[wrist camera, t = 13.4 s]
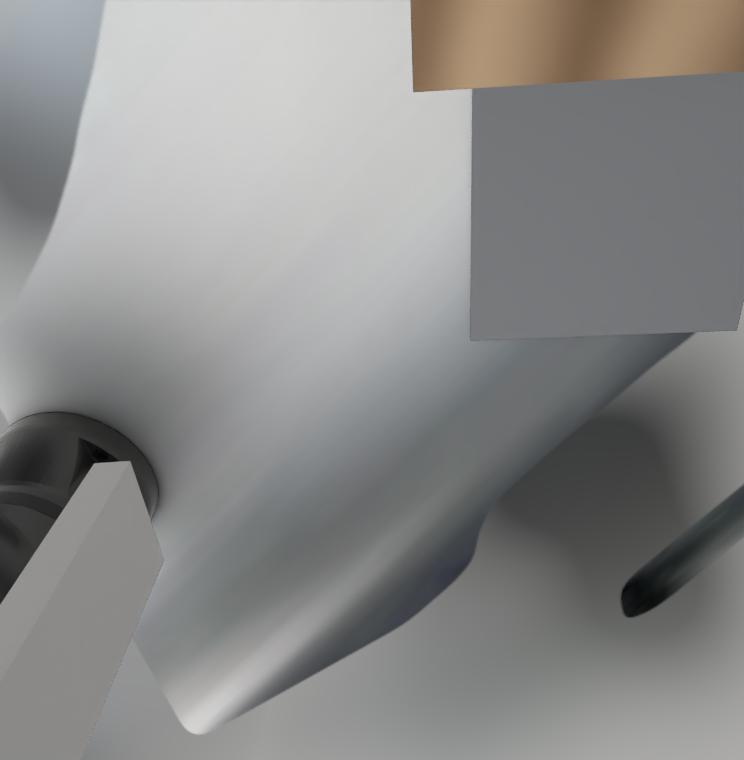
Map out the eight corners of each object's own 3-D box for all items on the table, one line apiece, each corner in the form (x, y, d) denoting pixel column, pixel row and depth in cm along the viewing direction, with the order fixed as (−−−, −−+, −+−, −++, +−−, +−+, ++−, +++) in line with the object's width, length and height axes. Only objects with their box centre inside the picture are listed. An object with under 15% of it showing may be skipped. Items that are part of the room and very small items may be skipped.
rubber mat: (470, 338, 51) (470, 340, 51) (472, 54, 41) (473, 55, 41) (734, 328, 50) (736, 330, 49) (802, 31, 40) (806, 31, 39)
